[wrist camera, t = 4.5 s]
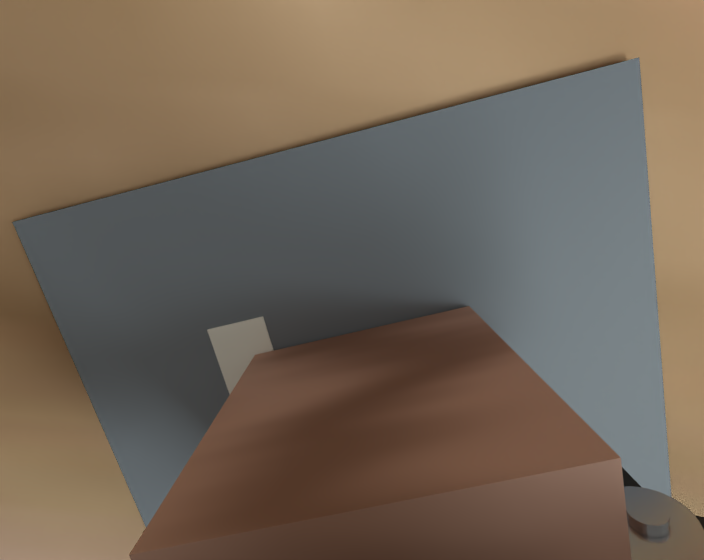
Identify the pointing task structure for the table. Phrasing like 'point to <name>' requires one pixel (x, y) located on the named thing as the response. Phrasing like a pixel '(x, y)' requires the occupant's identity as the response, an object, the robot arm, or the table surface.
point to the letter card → (374, 265)
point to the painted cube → (395, 458)
